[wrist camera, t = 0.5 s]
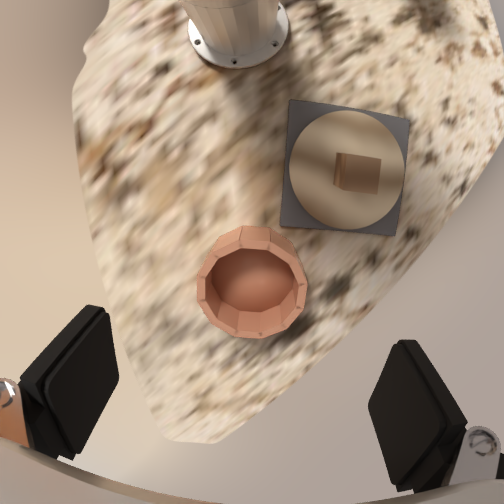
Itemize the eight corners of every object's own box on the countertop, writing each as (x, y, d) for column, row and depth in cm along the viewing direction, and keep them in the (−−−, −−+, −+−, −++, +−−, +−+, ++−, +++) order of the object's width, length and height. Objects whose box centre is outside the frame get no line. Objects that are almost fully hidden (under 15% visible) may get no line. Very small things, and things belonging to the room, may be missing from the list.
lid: (293, 103, 34) (299, 96, 29) (406, 122, 34) (427, 120, 28) (284, 222, 39) (287, 235, 34) (392, 232, 39) (410, 246, 33)
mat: (289, 100, 35) (289, 99, 34) (407, 120, 34) (409, 120, 34) (279, 224, 40) (280, 225, 39) (393, 234, 40) (395, 236, 39)
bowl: (206, 223, 40) (197, 236, 35) (306, 230, 40) (313, 244, 34) (205, 310, 45) (197, 333, 39) (294, 317, 44) (298, 340, 39)
